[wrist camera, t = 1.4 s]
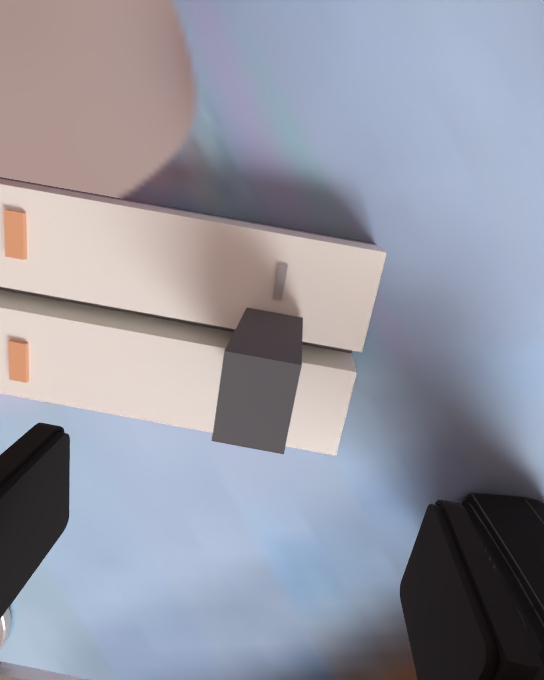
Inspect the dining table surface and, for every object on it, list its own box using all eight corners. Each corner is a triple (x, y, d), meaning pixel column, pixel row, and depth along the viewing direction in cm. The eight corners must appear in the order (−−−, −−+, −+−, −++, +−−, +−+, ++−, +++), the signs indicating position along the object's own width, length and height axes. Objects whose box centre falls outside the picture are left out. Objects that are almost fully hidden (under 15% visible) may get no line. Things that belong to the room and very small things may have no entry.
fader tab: (291, 365, 27) (283, 454, 18) (243, 357, 27) (211, 440, 18) (303, 303, 26) (301, 365, 17) (253, 294, 26) (224, 351, 17)
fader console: (332, 422, 30) (336, 458, 26) (-43, 353, 30) (-98, 378, 26) (374, 243, 26) (387, 253, 22) (-57, 167, 26) (-124, 162, 22)
